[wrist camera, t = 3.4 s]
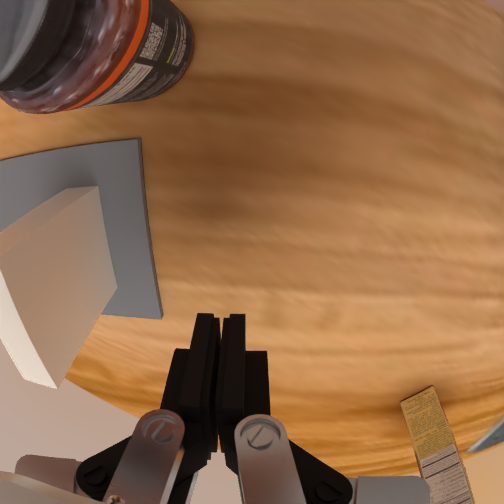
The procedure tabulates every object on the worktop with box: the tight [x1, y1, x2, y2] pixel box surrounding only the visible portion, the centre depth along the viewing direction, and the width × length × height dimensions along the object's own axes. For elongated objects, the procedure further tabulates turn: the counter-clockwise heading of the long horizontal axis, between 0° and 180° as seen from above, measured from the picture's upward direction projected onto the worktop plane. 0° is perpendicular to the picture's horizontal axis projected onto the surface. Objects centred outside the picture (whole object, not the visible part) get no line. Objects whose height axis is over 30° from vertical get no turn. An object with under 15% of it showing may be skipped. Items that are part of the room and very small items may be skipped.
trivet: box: [0, 138, 163, 319], centre depth 18 cm, size 18×12×1 cm, turn 89°
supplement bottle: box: [0, 0, 194, 114], centre depth 8 cm, size 6×6×11 cm
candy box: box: [400, 386, 475, 504], centre depth 20 cm, size 9×4×15 cm, turn 34°
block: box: [0, 186, 118, 389], centre depth 14 cm, size 2×7×9 cm, turn 0°
